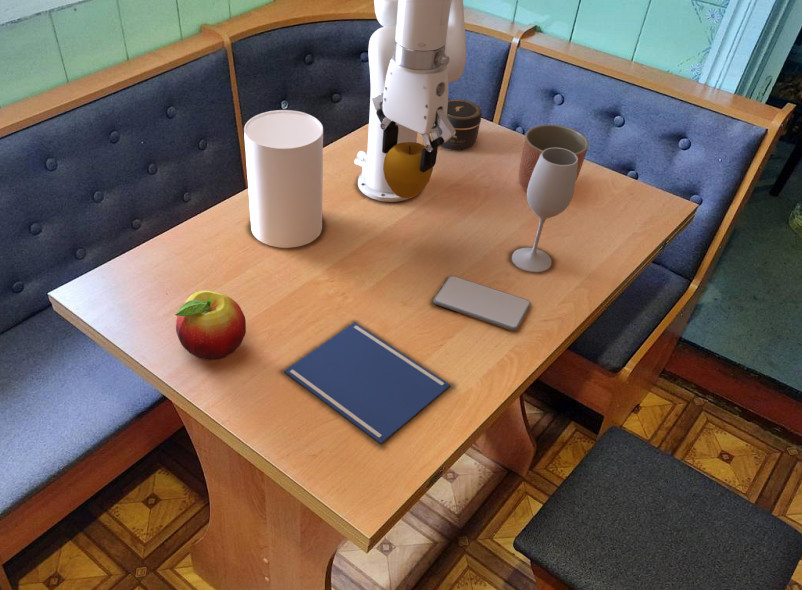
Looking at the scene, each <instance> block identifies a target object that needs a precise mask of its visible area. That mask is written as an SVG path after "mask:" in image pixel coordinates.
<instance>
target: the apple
mask: <svg viewBox="0 0 802 590" xmlns="http://www.w3.org/2000/svg"><path fill="white" fill-rule="evenodd" d="M423 149H425V144H422V143H420V142H416V143H415V142H404V143H398V144H396V145H394V146H393V147H392V148H391V149H390V150H389V151H388V153H387V155H386V156H385V159H384V165H383V171H384V176H385V179H386V182H387V184H388V186H389V187H390V189H391V190H392V191H393V192H394V193H395V194H396V195H397V196H399V197H401V198H409V199H411V198H415V197H416V196H418V195H419V194H421V193H422V191H423V190H424V189H425V188H426V187H427V185H428V184H429V183H430V180H431V177H432V174H433V171H434V167H432V168H431V169H429V170H427V171H425V172H424V173H423V172H421V171H420V164H421V155H422V150H423Z"/></svg>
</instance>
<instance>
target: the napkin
mask: <svg viewBox="0 0 802 590" xmlns="http://www.w3.org/2000/svg"><path fill="white" fill-rule="evenodd" d="M283 373H284V374H286V376H288V377H289V378H291V379H292V380H293V381H295V382H296V383H297V384H298V385H300V386H301V387H303V388H304V389H305V390H307V391H308V392H309V393H310V394H312V395H313V396H315V397H316V398H317V399H318V400H320V401H322V402H323V403H324V404H326V405H327V406H328V407H329V408H331V409H332V410H333V411H335V412H336V413H337V414H339V415H341V416H342V417H343V418H344V419H345V420H347V421H348V422H350V423H351V424H352V425H354V426H355V427H356V428H358V429H359V430H360V431H362V432H363V433H364V434H366V435H367V436H368V437H370V438H371V439H373V440H374V441H375V442H376V443H377V444H379V445H382V444H384V443H385V442H386V441H387V440H388V439H389V438H390V437H392V436H393V435H394V434H395V433H397V432H398V431H399V430H400V429H401V428H402V427H404V426H405V425H406V424H408V422H410V421H411V420H412V419H413V418H415V416H417V415H418V414H419V413H421V411H423V410H424V409H425V408H427V406H429V405H430V404H431V403H432V402H434V400H436V399H437V398H438V397H439V396H441V395H442V394H443V393H444V392H446V391H447V390H448V389H449V388H451V384H450V383H448V382H447V381H446V380H445V379H443V378H441V377H439V376H438V375H436V374H435V373H433V372H432V371H430V370H428V368H425V367H424V366H423V365H421V364H420V363H418V362H417V361H415V360H413V359H412V358H410V357H409V356H408V355H405V354H404V353H403V352H401V351H399V350H398V349H396V348H395V347H394V346H392V345H390V344H389V343H387V342H386V341H384V340H382V339H381V338H380V337H378V336H377V335H375V334H374V333H372V332H370V331H369V330H367V328H365V327H362V325H360V324H359V323H357V322H355V321H354V322H353V323H351V324H350V325H348V326H346V327H345V328H344V329H342V330H341V331H340V332H338V333H337V334H335V335H333V336H332V337H331V338H329V339H328V340H326V341H325V342H323V343H322V344H320V345H319V346H318V347H316V348H315V349H314V350H312V351H311V352H309V353H307V354H305V356H303V357H302V358H300V359H299V360H297V361H296V362H295V363H293V364H292V365H290V366H289V367H287V368H286V369H284V370H283Z"/></svg>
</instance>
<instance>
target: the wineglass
mask: <svg viewBox="0 0 802 590" xmlns="http://www.w3.org/2000/svg"><path fill="white" fill-rule="evenodd" d="M577 167H578V157H577V156H576V154H574V153H573V152H571V151H569V150H567V149H563V148H548V149H545V150H544V151H543V152H542V153H541V155H540V157H539V159H538V161H537V163H536V166H535V168H534V170H533V173H532V176H531V178H530V181H529V184H528V189H527V191H526V200H527V204H528V207H530V210H531V211H532V213H534V214H535V215H536V216H537V217H538V219H539V222H538V223H539V224H538V227H537V230H536V234H535V238H534V242H533V245H532V247H521V248H517V249H516V250H514V251H513V253H512V255H511V261H512V264H514V265H515V266H516V267H517V268H518V269H520V270H522V271H525V272H528V273H543V272H545V271H548V270H549V269H550V268H551V266H552V262H553V261H552V258H551V257H550V255H549V254H547V252H545V251H543V250H541V249H538V245H539V242H540V239H541V234H542V231H543V227H544V224H545V222H546V220H548V219H551V218H554V217H556V216H558V215H560V214H562V213H563V212H565V210H566V209H567V208H568V207H569V205H570V204H571V202H572V200H573V197H574V193H575V188H576V182H577V180H576V176H577Z"/></svg>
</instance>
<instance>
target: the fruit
mask: <svg viewBox="0 0 802 590" xmlns="http://www.w3.org/2000/svg"><path fill="white" fill-rule="evenodd" d="M181 305H182V306H180V307H179V309H178V310H177V312H176V313H175V314H174V315H175V316H176V321H175V332H176V335H177V338H178V340H179V343H180V345H181V346H182V347H183V348H184V349H185V351H187V352H188V353H189V354H190V355H191V356H194V357H196V358H198V359H200V360H205V361H218V360H222V359H224V358H227V357H228V356H230V355H231V354H234V353H235V351H237V350H238V348H239V347H241V345H242V343H243V340H244V339H245V336H246V333H247V319H246V316H245V314H244V312H243V310H242V308H241V306H240V305H239V303H238V302H237V301H236V300H234V299H233V298H232V297H231V296H228V295H227V294H224V293H222V292H218V291H214V290H208V289H204V290H198V291H196V292H194V293H192V294H191V295H189V297H188V298H186V300H185V301H184V302H183V303H182V304H181Z"/></svg>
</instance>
